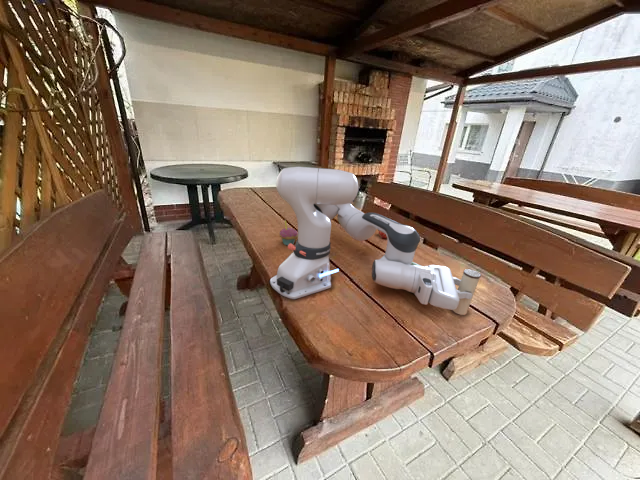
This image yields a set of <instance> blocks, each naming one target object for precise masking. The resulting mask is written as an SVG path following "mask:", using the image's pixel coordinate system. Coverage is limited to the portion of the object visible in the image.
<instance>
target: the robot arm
mask: <svg viewBox="0 0 640 480" xmlns="http://www.w3.org/2000/svg"><path fill="white" fill-rule="evenodd" d="M275 180H276V181H275V187H276V191H277V193H278V195H279V196H280V198H281V199H282V200H283V201H285V202H286V204H287V205H289V206H290V208H291V209H292V210H293V212H294V215H295V217H296V222H297V233H298V237H297V240H296V241H295V244H291V243H290V244H289V245H287V249H288V250H290V251H292V252H291V253H290V254H289V255H288V256H287V258H286V259H284V261H283V262H281V264H279V266H278V268H277V271H276V272H277V273H276V275H274V276H273V277H271V278H270V280H269V284H270V286H271V287H272V289H273V290H274V291H276V292H277V293H278V294H280V295H281V296H283V297H285V298H288V299H291V300H297V299H300V298H303V297H306V296H309V295H312V294H315V293H320V292H322V291H325V290H328V289H331V287H332V282H331V280H332V276H331V275H332V274H335V273H338V272H339V270H340V269H339V268H336V269H333V270H331V268H330V265H331V263H330V253H331V249H332V248H331V246H332V243H331V232H332V231H331V230H332V220H333V219H334V218H335V217H336V216H337V217H336V219H337V222H338V224H339V225H340V226H341V228H342V229H343V230H344V232H345V233H347V235H349V236H350V237H351V238H352V239H353V240H355V241H359V242H363V241H367V240H369V239H370V238H371V237H373V236H374V235H375V233H376V231H378V230H379V231H381V232H383V233H385V234H386V236H387V238H386V241H387V242H386V246H385V251H384V254H383V256H381V257H380V258H378V259H374V260H373V262H372V266H371V279H372V281H373V283H375V284H378V285H380V286H383V287H386V288H390V289H393V290H404V291H406V292H409V293H411V294H414V295H415V297H416V298H417V300H418V302H419V303H420V304H421V305H425V306H427V305H428V304H429V305H431V306H433V307H435V308H439V309H445V310H451V311H453V310H454V309H457V307H458V304H459V301H460V299H462V298H467V299H471V298H472V299H473V297H472V293H471V291H466V290H465V292H460V291H459V290H458V289H457V287H456V286H458V287H459V284H460V282H461V279H460V278H458V277H456V276H453V273H452V270H451V268H450V267H448V266H445V265H436V264H429V265H424V266H423V265H421V266H417V265H412V262H414V258H415V255H416V251H417V248H418V246H419V244H420V241H421V236H420V234H419V233H418V232H417V230H416V229H415V228H414V227H413V226H411V225H407V224H404V223H400V222H397V221H395V220H392V219H391V218H388V217H386V216H384V215H382V214H379V213H377V212H365V213H364V212H363V211H361V210H359V209H358V208H356V207H355V206H353V205H352V202H353V203H354V202H355V199H356V197H357V195H358V194H359V193H358V192H359V182H358V179H357V177H356V175H355V174H354V173H353V172H349V171H346V170H341V169H336V168H322V167H319V168H318V167H311V166H307V167H306V166H291V167H284V168H282V169H281V170H280V171H279V173H278V175H277V177H276V179H275ZM379 231H378V232H379ZM422 266H423V267H422Z"/></svg>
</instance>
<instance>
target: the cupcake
mask: <svg viewBox="0 0 640 480" xmlns="http://www.w3.org/2000/svg"><path fill="white" fill-rule="evenodd" d="M284 227H285V228H283V229H281V230H280V231H279V233H278V234H279V238H281V241H282V244H283V245H285V246H288V245H289V244H290V243H291V244H293V245H295V244H294V243H295V242H296V239H298V230H296V229H294V228H292V227H288V225H287V221H286V220H284Z"/></svg>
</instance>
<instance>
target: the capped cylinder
mask: <svg viewBox="0 0 640 480" xmlns="http://www.w3.org/2000/svg"><path fill="white" fill-rule="evenodd" d="M462 272H463V273H462V276H461V279H460V280H461V282H460V284H459V286H458V287H457V290H459V291H460V292H465V290H466V291H471V293H472V298H471V299H467V298H462V299H460V301H459V304H458V307H457V309H454V310H452V312H454V313H455V314H458V315H461V316H465V315H467V313H468V311H469V307H470V305H471V302H472V300H473V297H474V294H475V292H476V289H477V286H478V284H479V281H480V279H481V277H482V275H481V273H480V272H479V271H477V270H475V269H471V268H465V269H464V270H463V271H462Z"/></svg>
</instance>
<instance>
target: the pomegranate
mask: <svg viewBox="0 0 640 480" xmlns="http://www.w3.org/2000/svg"><path fill="white" fill-rule="evenodd" d="M377 231H378V234H376V236H380V237H381V239H386V240H387V236H386V234H385V233H383V232H381V231H379V230H377Z"/></svg>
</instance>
